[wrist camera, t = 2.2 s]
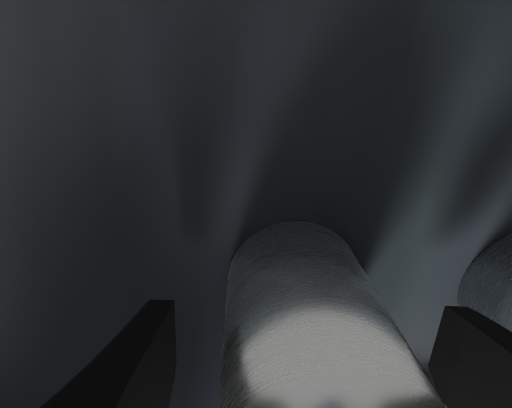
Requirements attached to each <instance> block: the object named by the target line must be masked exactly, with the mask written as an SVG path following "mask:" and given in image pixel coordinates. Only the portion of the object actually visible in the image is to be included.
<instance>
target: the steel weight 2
mask: <svg viewBox="0 0 512 408" xmlns="http://www.w3.org/2000/svg"><path fill="white" fill-rule="evenodd" d="M458 305H459V306H462V307H469V308H471V309H473V310H475V311H477V312H479V313H480V314H482V315H484V316H486V317H488V318H489V319H491V320H493V321H494V322H496V323H498V324H500V325H501V326H503V327H505V328H506V329H508V330H510V331H511V332H512V234H510V235H508V236H506V237H504V238H502V239H499V240H498V241H496V242H494V243H493V244H491V245H490V246H489V247H487V248H486V249H485V250H483V251H482V252H481V253H480V254H479V255H478V256H477V257H476V258H475V259H474V260H473V262H472V263H471V264H470V266H469V267H468V269H467V270H466V272H465V274H464V276H463V278H462V280H461V283H460V286H459V291H458Z"/></svg>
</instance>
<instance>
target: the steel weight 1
mask: <svg viewBox="0 0 512 408" xmlns="http://www.w3.org/2000/svg"><path fill="white" fill-rule="evenodd" d="M218 408H446V407H445V405H444V404H443V402H442V400H441V399H440V397H439V395H438V394H437V392H436V390H435V389H434V387H433V385H432V384H431V382H430V380H429V379H428V377H427V375H426V374H425V372H424V370H423V369H422V367H421V365H420V364H419V362H418V360H417V359H416V357H415V355H414V354H413V352H412V350H411V349H410V347H409V345H408V344H407V342H406V340H405V339H404V337H403V335H402V334H401V332H400V330H399V329H398V327H397V325H396V324H395V322H394V320H393V319H392V317H391V315H390V314H389V312H388V310H387V309H386V307H385V305H384V304H383V302H382V300H381V299H380V297H379V295H378V294H377V292H376V290H375V289H374V287H373V285H372V284H371V282H370V280H369V279H368V277H367V275H366V274H365V272H364V270H363V269H362V267H361V265H360V264H359V262H358V260H357V259H356V257H355V255H354V254H353V252H352V250H351V249H350V247H349V246H348V244H347V243H346V242H345V241H344V240H343V239H342V238H341V237H340V236H339V235H338V234H336V233H335V232H333V231H332V230H330V229H328V228H326V227H324V226H321V225H318V224H315V223H311V222H304V221H288V222H282V223H277V224H274V225H271V226H268V227H266V228H263V229H262V230H260V231H258V232H256V233H255V234H253V235H252V236H251V237H249V238H248V239H247V240H246V241H245V242H244V243H243V244H242V245H241V246H240V248H239V249H238V250H237V252H236V253H235V255H234V257H233V259H232V261H231V263H230V266H229V270H228V278H227V291H226V304H225V318H224V332H223V345H222V359H221V373H220V386H219V400H218Z"/></svg>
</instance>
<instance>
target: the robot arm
mask: <svg viewBox="0 0 512 408" xmlns="http://www.w3.org/2000/svg"><path fill="white" fill-rule="evenodd" d="M428 366H429V369H430V371H431V374H432V376H433V378H434V381H435V383H436V386H437V388H438V390H439V393H440V395H441V397H442V399H443V401H444V404H445V406H446V407H447V408H512V332H511V331H510V330H508V329H506V328H505V327H503V326H501V325H500V324H498V323H496V322H494V321H493V320H491V319H489V318H488V317H486V316H484V315H482V314H480V313H479V312H477V311H475V310H473V309H471V308H469V307H462V306H445V308H444V312H443V315H442V319H441V322H440V326H439V329H438V333H437V336H436V340H435V343H434V347H433V350H432V354H431V357H430V361H429V364H428ZM175 368H176V338H175V312H174V300H150V301H148V302H147V303H146V304H145V305H144V306H143V307H142V309H141V310H140V311H139V312H138V313H137V314H136V315H135V316H134V317H133V318H132V320H131V321H130V322H129V323H128V324H127V325H126V326H125V327H124V328H123V329H122V330H121V331H120V332H119V334H118V335H117V336H116V337H115V338H114V339H113V340H112V341H111V342H110V343H109V344H108V345H107V346H106V347H105V348H104V349H103V350H102V351H101V352H100V353H99V354H98V355H97V356H96V357H95V358H94V359H93V360H92V361H91V362H90V363H89V364H88V365H87V366H86V367H85V368H84V369H82V370H81V371H80V372H79V373H78V374H77V375H76V376H75V377H74V378H73V379H72V380H71V381H69V382H68V383H67V384H66V385H65V386H64V387H63V388H62V389H61V390H60V391H59V392H57V393H56V394H55V395H54V396H53V397H52V398H51V399H49V400H48V401H47V402H46V403H45V404H44V405H42V406H41V407H40V408H168V406H169V402H170V397H171V391H172V386H173V380H174V374H175Z"/></svg>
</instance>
